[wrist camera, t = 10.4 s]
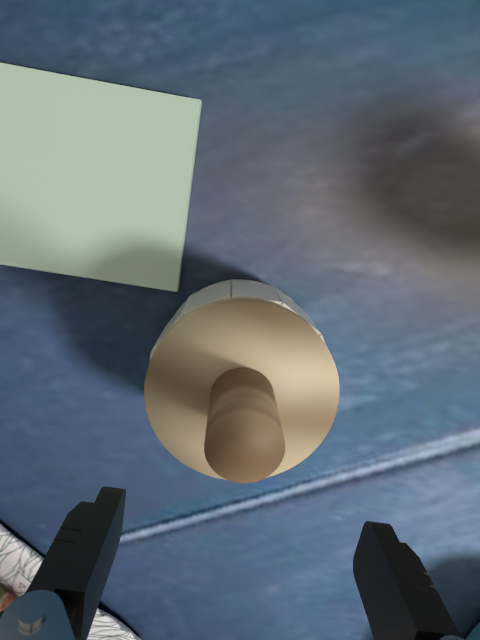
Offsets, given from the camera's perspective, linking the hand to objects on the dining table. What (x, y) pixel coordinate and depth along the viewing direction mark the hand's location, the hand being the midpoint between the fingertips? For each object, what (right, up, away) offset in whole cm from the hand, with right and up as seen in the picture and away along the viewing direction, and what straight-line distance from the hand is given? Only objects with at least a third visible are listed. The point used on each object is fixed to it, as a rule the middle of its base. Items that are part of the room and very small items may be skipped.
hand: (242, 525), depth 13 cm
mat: (-9, +16, +13) cm, 22 cm away
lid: (0, +3, +10) cm, 11 cm away
